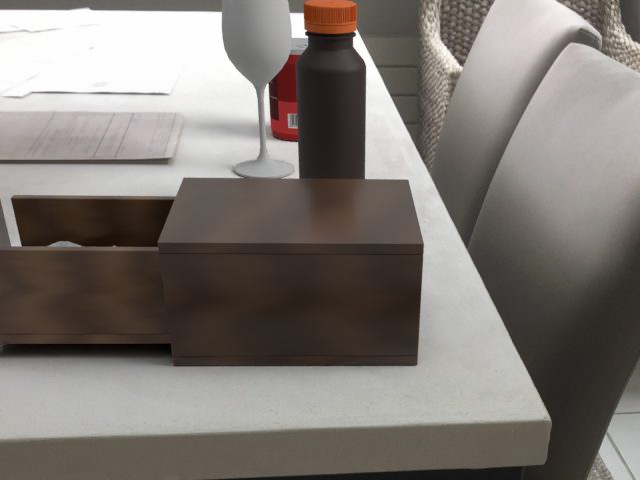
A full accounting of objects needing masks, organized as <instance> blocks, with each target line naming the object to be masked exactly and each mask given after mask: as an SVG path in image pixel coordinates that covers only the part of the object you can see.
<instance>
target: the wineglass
mask: <svg viewBox="0 0 640 480" xmlns="http://www.w3.org/2000/svg"><path fill="white" fill-rule="evenodd" d="M291 19H292V18H291V11H290V4H289V0H222V2H221V35H222V37H221V38H222V43H223V49H224V51H225V54H226V56H227V58H228V60H229V61H230V62H231V64H232V65H233V66H234V68H235V69H236V70H237V71H238V72H239V73H240V74H241V75H242V76H243V77H244V78H245V79H246V80H247V81H248V82H249V83H250V84H252V86H253V88H254V89H255V93H256V98H257V113H258V132H259V133H258V134H259V153H258V156H257V157H256V159H249V160H245V161H241V162H239V163H237V164H236V165H235V166H234V168H233V171H234V173H235V174H236V175H238V176H240V177H242V178H286V177H288V176H290V175H292V174H293V173H295V165H294V164H292V163H290V162H288V161H284V160H281V159H273V158H271V156H270V154H269V152H268V148H267V134H266V133H267V132H266V113H265V92H266V91H265V90H266V88H267V86H268V83H269V82H270V81H271V80H272V79H273V78H274V77H275V76H276V75H277V74H278V72H279V71H280V70H281V69H282V68H283V66H284V65H285V63H286V61H287V60H288V57H289V54H290V51H291V42H292V38H293V33H292V31H293V30H292V29H293V28H292V20H291Z"/></svg>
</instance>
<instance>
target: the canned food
mask: <svg viewBox="0 0 640 480" xmlns="http://www.w3.org/2000/svg"><path fill="white" fill-rule="evenodd" d="M307 47H308V37H292V42H291V51H290V54H289V57H288V60H287V61H286V63H285V65H284V66H283V68H282V69H281V70H280V71H279V72H278V74H277V75H276V76H275V77H274V78H273V79H272V80H271V81H270V82H269V83H268V84H267V86H268V101H269V119H270V120H269V121H270V129H271V132H272V135H273V136H274V137H275V138H277V139H279V140H284V141H289V142H298V126H297V95H296V61H297V59H298V58H299V57H300V55H301V54H302V53H303V52H304V50H305V49H306V48H307Z"/></svg>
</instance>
